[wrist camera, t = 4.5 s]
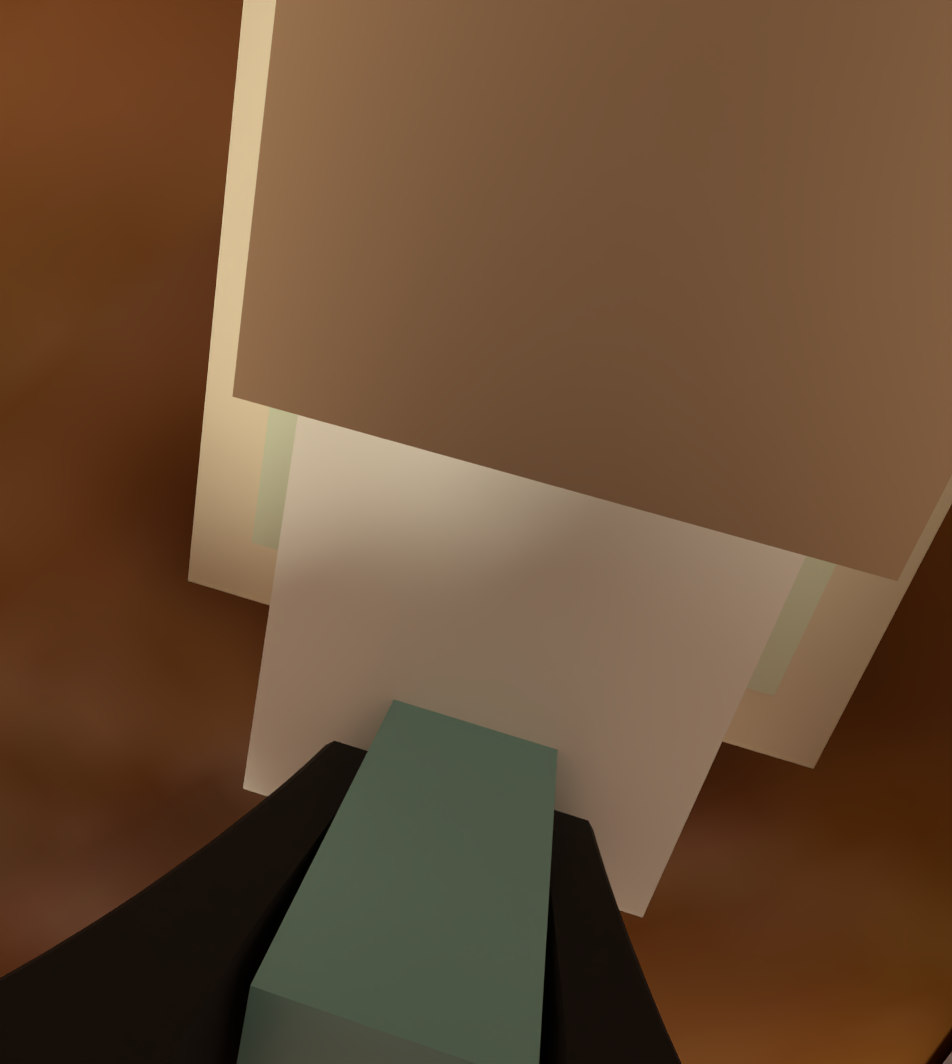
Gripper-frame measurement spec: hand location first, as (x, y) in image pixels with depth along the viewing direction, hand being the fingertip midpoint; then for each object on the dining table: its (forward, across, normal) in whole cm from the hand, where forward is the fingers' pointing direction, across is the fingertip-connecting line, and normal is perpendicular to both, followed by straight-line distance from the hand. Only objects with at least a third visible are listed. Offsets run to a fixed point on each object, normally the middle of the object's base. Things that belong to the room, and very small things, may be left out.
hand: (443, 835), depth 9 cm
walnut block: (+1, 0, -8) cm, 8 cm away
